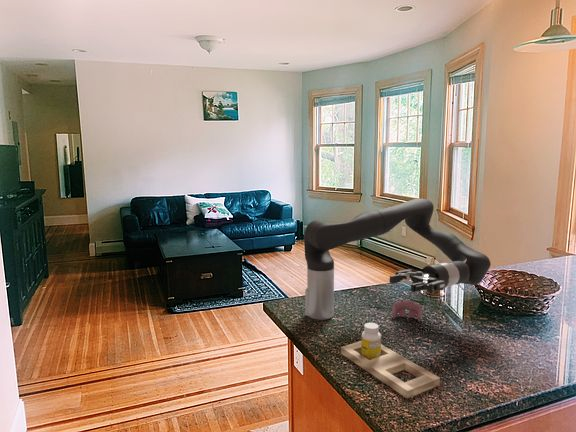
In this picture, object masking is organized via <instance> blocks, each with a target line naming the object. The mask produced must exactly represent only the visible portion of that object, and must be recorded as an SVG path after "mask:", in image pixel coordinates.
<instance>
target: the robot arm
mask: <svg viewBox="0 0 576 432" xmlns="http://www.w3.org/2000/svg"><path fill="white" fill-rule="evenodd" d="M433 214H434V204H433V202H432V201H431V200H429V199H426V198H413V199H411V200H407V201H404V202H401V203H398V204H395V205H392V206H389V207H385V208H379V209H374V210H370V211H366V212H362V213H359V214H358V215H356V216H355V217H354V218H352V219H350V220H348V221H345V222H338V223H337V222H336V223H329V222H325V221H323V220H312V221H311V222H309V223H308V224H307V225H306V227H305V229H304V235H303V238H304V239H303V241H304V244H303V245H304V258H305V261H306V266H307V267H306V271H307V272H306V273H307V274H306V277H307V278H306V280H307V281H306V283H307V284H306V285H307V286H306V289H305V290H304V291H305V292H304V293H305V295H304V296H305V297H304V300H305V302H304V303H305V308H304V309H305V310H304V311H305V313H304V316H305V317H309V318H311V319H314V320H320V321H321V320H323V321H324V320H329V319H332V318H333V317H334V315H335V314H334V313H335V312H334V311H335V307H334V306H335V305H334V304H335V261H334V258H333V257H332V256H331V253H330V250H333V249H335V248H336V249H337V248H338V247H341V246H344V245H346V244H349V243H352V242H357V241H362V240H365V239H366V240H367V239H370V238H375V237H380V236H383V235H385V234H387V233H389V232H390V231H392V230H393V229H394V228H396V227H397V226H398V225H400V223H402V222H403V221H404V223H405V224H406V226H408V227H409V229H411V230H412V231H413V232H415V233H417V234H418V235H419V236H421V237H422V238H424V239H425V240H427V241H428V242H430V243H431V244H432V245H434V246H435V247H437V248H438V249H439V250H440V251H441V252H442V253H443V254H444V255H445V256H446V257H447V258H448V259H449V260H450V261H449V262H439V263H435V264H429V265H425V266H424V267H423V268H422V269H421V270H419V271H413V269H411V268H410V269H409V268H408V269H401V270H397V271H395V274H394V275H390V276H389V284H391V285H392V284H397V283H398V284H399V283H406V285H407V284H408V285H410V292H412V293H416V292H421V291H424V292H427V290H429V292H430V293H433V292H437V291H440V290H441V291H444V290H445V288H450V287H453V286H455V285H459V284H462V285H463V284H464V285H470V286H476V285H479V284H480V283H481V282H483V280H484V278H485V277H486V275H487V273H488V272H489V269H490V267H491V265H492V264H491V260H490V258H489V257H488V256H487V255H486V254H485V253H482V252H479V251H477V250H475V249H474V248H472V247H470V246H467V245H466V244H465V243H464V242H463V241H462V240H461V239H459V237H458V236H456V235H455V234H453V233H450V232H447V231H438V230H435V229H433V227H432V226H431V225H430V223H431V219H432V216H433ZM410 279H411V280H410Z"/></svg>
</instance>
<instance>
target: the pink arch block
mask: <svg viewBox="0 0 576 432" xmlns="http://www.w3.org/2000/svg"><path fill="white" fill-rule="evenodd" d="M391 309H392V310H391V318H392V320H395V319H396V317H397V315H398V314H399V316H400V317H405V316H406V315H407V314H406V311H405V310H409V311H408V312H407V313H408V317H409V318H411V319H412V318H413V319H414V318H415V317H416V318H417V321H418V322H421V321H422V316H423V311H422V309H423V308H422V306H421V304H419V303H418V302H416V301H415V300H414V301H413V300H407V299H403V300H401V299H400V300H397V301H395V302H394V303H393V305H392V308H391Z"/></svg>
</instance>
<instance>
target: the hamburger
mask: <svg viewBox="0 0 576 432" xmlns="http://www.w3.org/2000/svg"><path fill="white" fill-rule="evenodd" d="M420 292H421V294H423V293H424V292H423V291H420ZM440 292H441V295H440ZM427 294H428V295H427ZM429 294H430V295H429ZM445 294H446V293H445V292H444V290H440V291H437V292H433V293H430V292H429V290H427V291H426V294H425V293H424V294H423V295H424V296H426V295H427V297H430V296H431V297H433V298H439V297H443V296H445ZM431 297H430V298H431Z"/></svg>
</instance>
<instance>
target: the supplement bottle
mask: <svg viewBox="0 0 576 432" xmlns="http://www.w3.org/2000/svg"><path fill="white" fill-rule="evenodd" d="M379 330H380V325H378V323H375V322H367V323H366V322H365V324H364V325H363V331H362V332H361V341H362V348H361V355H362V356H364V357H365V358H367V359H369V360H371V359H374V358H377V357H380V356H381V344H382V334H381V332H380V331H379Z"/></svg>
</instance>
